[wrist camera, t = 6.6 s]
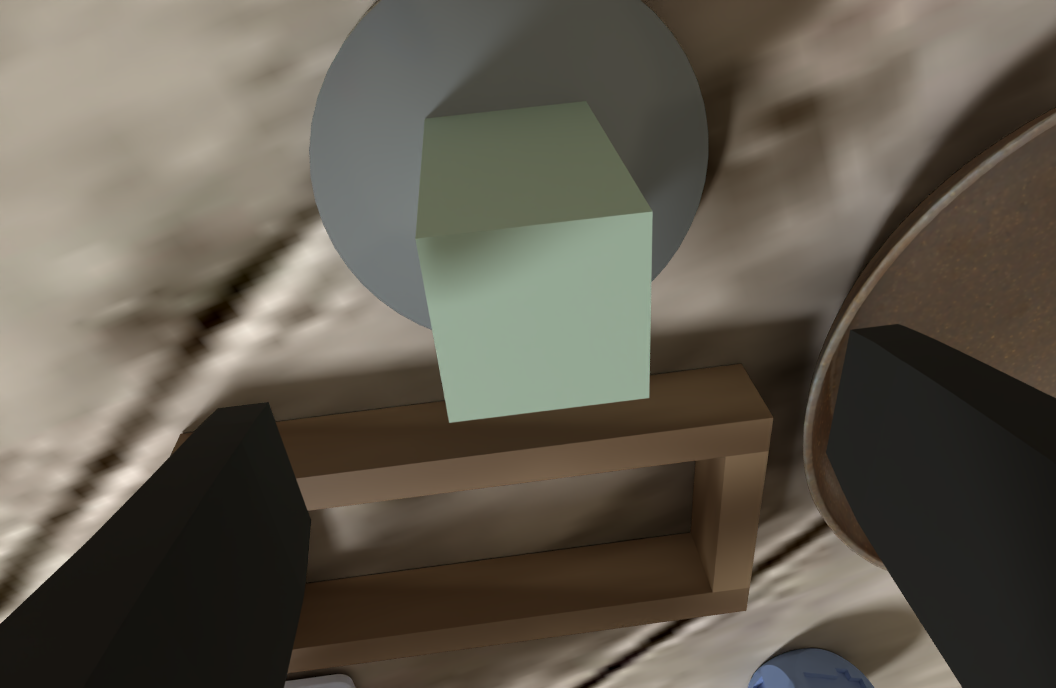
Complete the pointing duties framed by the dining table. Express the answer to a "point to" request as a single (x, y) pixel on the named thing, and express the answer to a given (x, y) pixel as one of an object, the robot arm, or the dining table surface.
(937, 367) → the robot arm
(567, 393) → the part block
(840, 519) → the plant saucer
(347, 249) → the coaster
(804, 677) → the decorative dice
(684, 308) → the dining table surface
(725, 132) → the dining table surface
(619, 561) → the pocket frame
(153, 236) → the dining table surface
